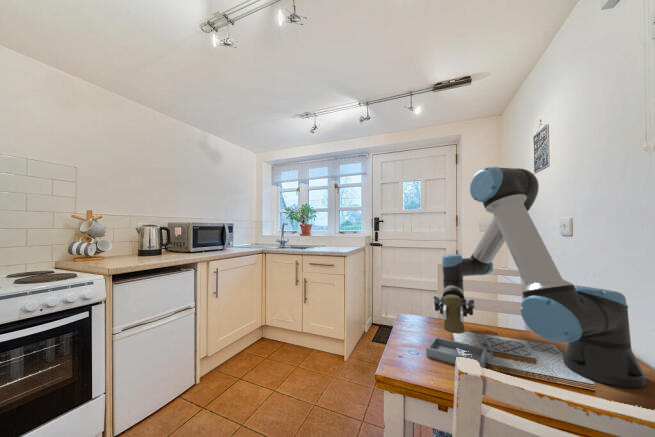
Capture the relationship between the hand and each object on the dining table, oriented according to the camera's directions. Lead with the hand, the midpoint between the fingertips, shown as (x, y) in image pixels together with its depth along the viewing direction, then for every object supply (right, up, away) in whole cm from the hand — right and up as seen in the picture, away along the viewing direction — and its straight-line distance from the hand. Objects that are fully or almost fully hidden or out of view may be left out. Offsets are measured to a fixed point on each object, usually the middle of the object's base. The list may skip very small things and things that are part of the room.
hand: (453, 316), depth 74 cm
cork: (+3, -6, +4) cm, 8 cm away
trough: (+3, -14, +3) cm, 15 cm away
